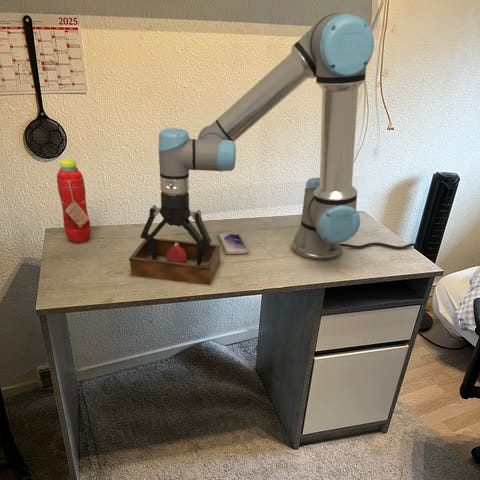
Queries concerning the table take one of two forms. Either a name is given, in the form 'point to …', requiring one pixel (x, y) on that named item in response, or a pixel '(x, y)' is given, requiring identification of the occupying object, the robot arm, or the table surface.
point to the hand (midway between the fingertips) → (176, 263)
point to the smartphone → (232, 243)
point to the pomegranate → (176, 254)
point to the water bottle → (73, 201)
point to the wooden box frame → (175, 269)
